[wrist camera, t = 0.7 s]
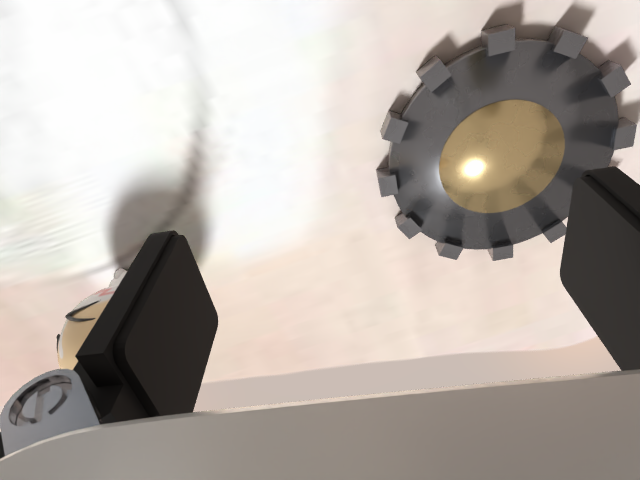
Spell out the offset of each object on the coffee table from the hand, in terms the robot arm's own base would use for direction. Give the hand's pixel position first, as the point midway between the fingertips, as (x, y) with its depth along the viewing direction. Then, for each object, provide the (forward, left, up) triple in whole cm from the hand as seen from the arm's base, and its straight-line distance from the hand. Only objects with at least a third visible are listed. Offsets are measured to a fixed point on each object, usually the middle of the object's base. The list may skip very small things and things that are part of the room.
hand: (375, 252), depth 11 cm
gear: (+13, +12, -30) cm, 35 cm away
